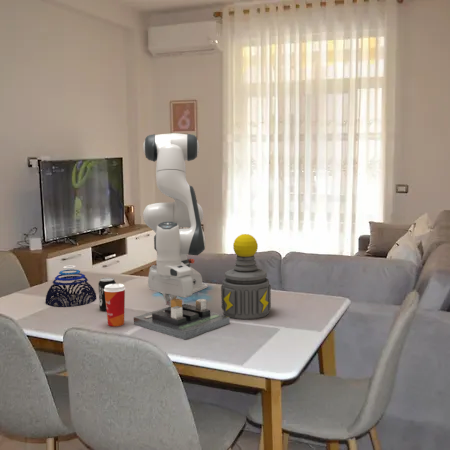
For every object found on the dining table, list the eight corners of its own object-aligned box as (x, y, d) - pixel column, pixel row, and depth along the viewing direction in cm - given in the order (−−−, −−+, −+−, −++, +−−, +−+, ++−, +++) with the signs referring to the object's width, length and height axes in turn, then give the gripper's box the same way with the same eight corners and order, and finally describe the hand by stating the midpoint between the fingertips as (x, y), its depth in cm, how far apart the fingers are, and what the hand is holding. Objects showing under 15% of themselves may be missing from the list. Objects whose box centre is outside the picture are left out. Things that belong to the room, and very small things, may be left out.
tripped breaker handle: (177, 308, 202) (177, 298, 201) (182, 309, 200) (181, 299, 200) (171, 309, 200) (170, 300, 199) (175, 311, 198) (175, 301, 197)
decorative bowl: (35, 304, 227) (33, 270, 226) (66, 293, 246) (64, 260, 244) (76, 309, 220) (74, 273, 218) (105, 296, 238) (103, 263, 236)
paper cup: (106, 321, 203) (104, 283, 201) (127, 320, 204) (126, 282, 202) (103, 328, 195) (101, 288, 194) (126, 327, 196) (124, 288, 194)
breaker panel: (178, 310, 216) (178, 290, 214) (229, 323, 198) (229, 301, 197) (133, 324, 199) (133, 302, 198) (185, 339, 182) (184, 315, 181)
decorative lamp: (245, 303, 225) (244, 229, 221) (281, 312, 211) (281, 233, 207) (210, 313, 212) (209, 234, 208) (247, 323, 198) (246, 239, 194)
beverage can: (112, 312, 215) (111, 281, 213) (96, 311, 216) (95, 280, 215) (119, 307, 221) (118, 277, 220) (103, 306, 223) (102, 277, 221)
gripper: (143, 265, 204) (144, 302, 206) (182, 273, 191) (183, 312, 193) (156, 262, 209) (157, 299, 211) (195, 269, 196) (196, 308, 197)
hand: (170, 305), depth 202 cm, fingers closed
